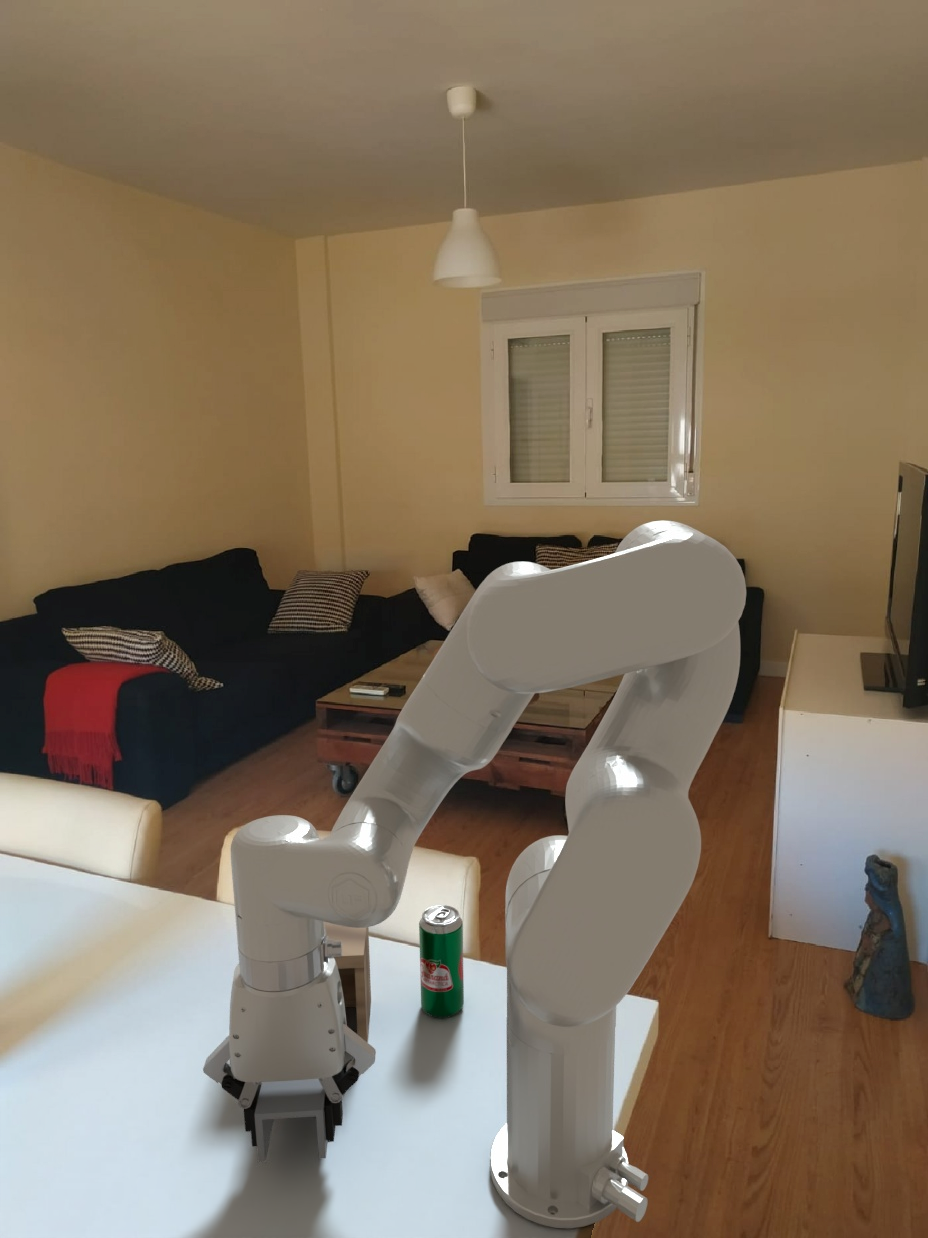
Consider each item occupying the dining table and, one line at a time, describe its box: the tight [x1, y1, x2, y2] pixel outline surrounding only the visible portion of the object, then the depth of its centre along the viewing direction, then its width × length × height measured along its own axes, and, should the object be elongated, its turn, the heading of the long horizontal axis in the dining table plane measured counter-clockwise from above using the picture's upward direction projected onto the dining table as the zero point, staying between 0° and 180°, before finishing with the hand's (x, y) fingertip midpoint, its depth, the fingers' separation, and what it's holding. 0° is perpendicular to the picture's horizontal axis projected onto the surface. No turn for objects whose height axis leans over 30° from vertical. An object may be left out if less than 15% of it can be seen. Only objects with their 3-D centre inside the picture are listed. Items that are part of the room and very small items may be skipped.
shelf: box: [324, 922, 372, 1044], centre depth 97 cm, size 8×12×12 cm
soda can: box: [418, 904, 465, 1019], centre depth 100 cm, size 5×5×12 cm
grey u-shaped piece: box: [254, 1079, 329, 1163], centre depth 83 cm, size 14×6×5 cm, turn 3°
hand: (295, 1131), depth 79 cm, fingers closed on grey u-shaped piece, 6 cm apart
